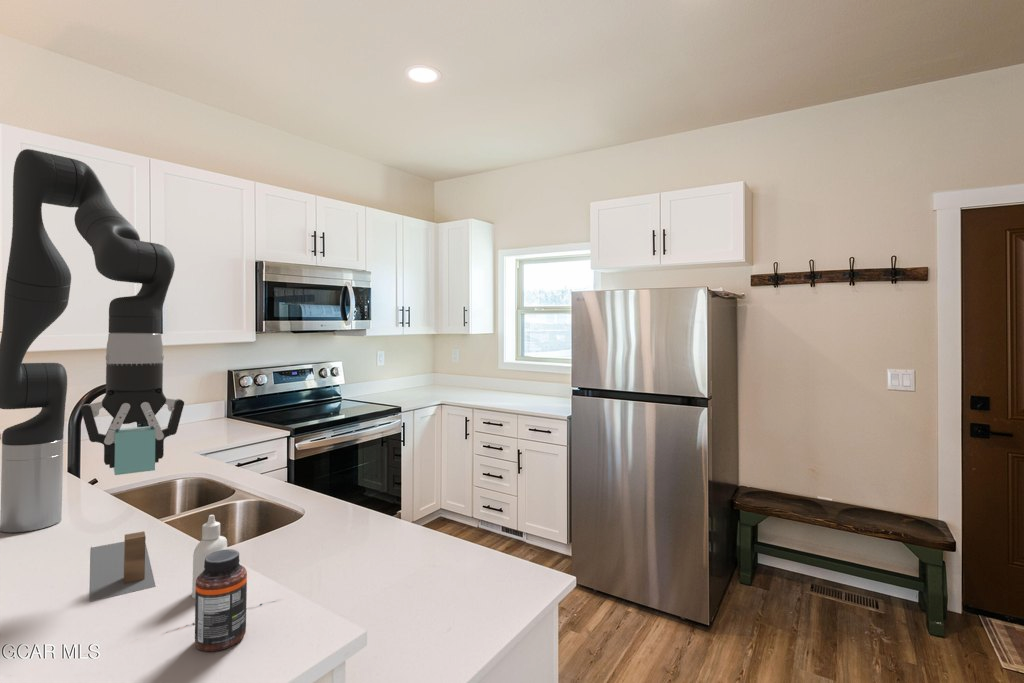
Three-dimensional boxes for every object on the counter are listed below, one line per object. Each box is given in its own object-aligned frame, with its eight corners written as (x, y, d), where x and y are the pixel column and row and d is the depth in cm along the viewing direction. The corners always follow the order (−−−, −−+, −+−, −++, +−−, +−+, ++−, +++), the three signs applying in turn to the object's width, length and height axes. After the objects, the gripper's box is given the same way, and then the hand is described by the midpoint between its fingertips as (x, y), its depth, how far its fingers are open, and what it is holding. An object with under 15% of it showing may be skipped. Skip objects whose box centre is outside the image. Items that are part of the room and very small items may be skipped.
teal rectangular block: (113, 469, 84) (114, 429, 84) (152, 464, 88) (152, 426, 88) (114, 475, 80) (115, 433, 80) (154, 470, 84) (155, 429, 84)
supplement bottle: (208, 627, 70) (210, 545, 70) (253, 626, 71) (255, 545, 71) (184, 654, 64) (186, 564, 64) (233, 653, 65) (235, 564, 65)
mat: (90, 549, 94) (90, 547, 94) (144, 539, 99) (144, 537, 99) (89, 604, 75) (89, 601, 75) (155, 588, 80) (155, 586, 80)
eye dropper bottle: (235, 588, 81) (237, 513, 81) (198, 604, 76) (200, 523, 76) (220, 581, 83) (222, 508, 83) (183, 595, 78) (185, 517, 78)
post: (123, 577, 83) (124, 534, 83) (143, 573, 84) (144, 531, 84) (124, 584, 81) (125, 539, 81) (144, 579, 82) (145, 536, 82)
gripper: (183, 360, 92) (182, 455, 91) (78, 361, 82) (77, 466, 82) (189, 361, 86) (188, 462, 86) (77, 362, 77) (76, 475, 76)
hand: (134, 464), depth 84 cm, fingers closed on teal rectangular block, 5 cm apart
